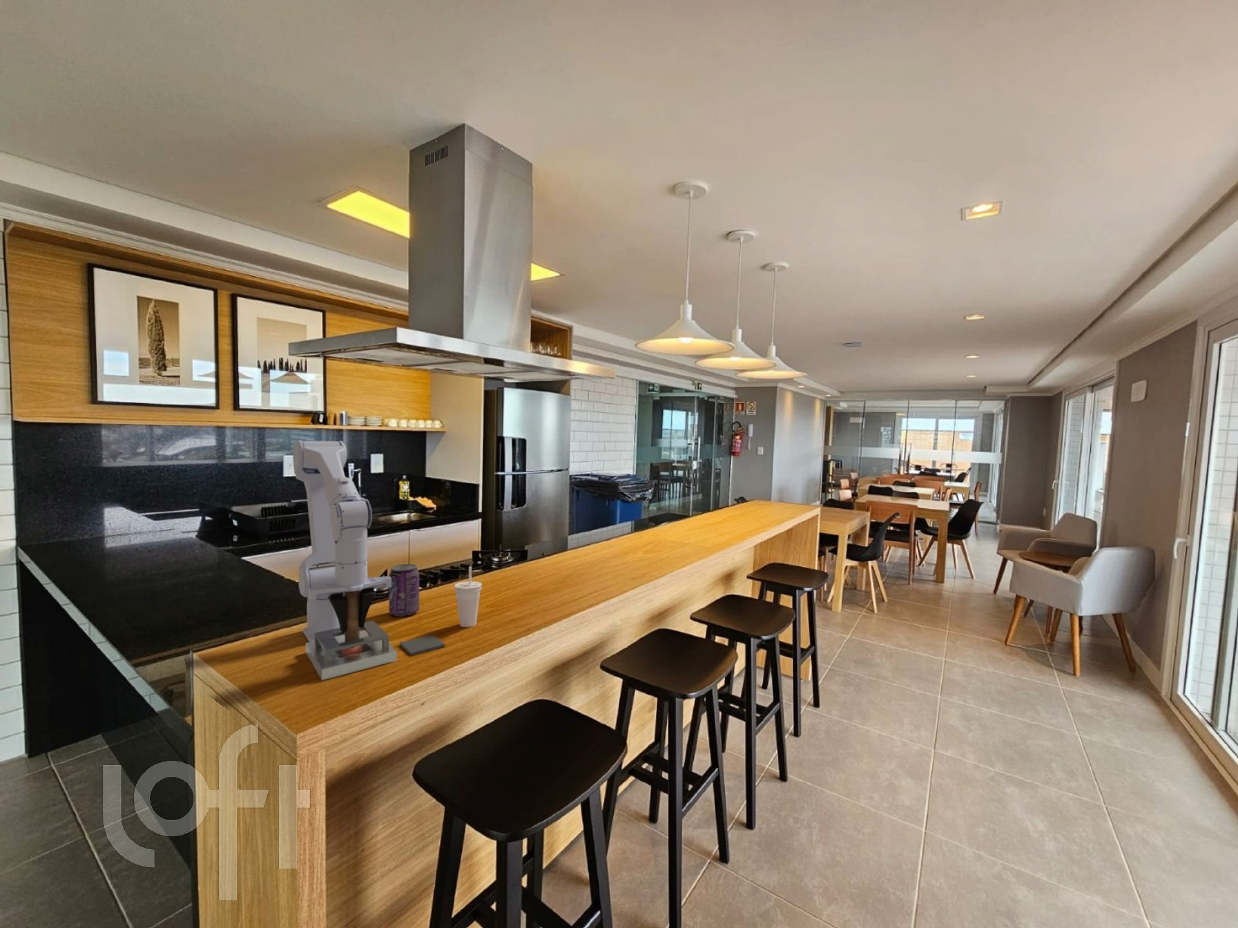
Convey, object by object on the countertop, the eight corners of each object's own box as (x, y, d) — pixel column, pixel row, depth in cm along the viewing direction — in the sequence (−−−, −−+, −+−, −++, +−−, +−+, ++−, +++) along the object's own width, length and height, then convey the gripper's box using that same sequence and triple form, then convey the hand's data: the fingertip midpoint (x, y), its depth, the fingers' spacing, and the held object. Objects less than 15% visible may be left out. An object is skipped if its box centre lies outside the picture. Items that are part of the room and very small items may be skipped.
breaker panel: (305, 652, 102) (305, 629, 102) (373, 637, 111) (373, 615, 111) (322, 680, 90) (321, 654, 90) (396, 660, 99) (396, 636, 99)
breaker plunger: (340, 657, 99) (340, 644, 99) (359, 652, 102) (359, 640, 102) (344, 663, 97) (344, 650, 97) (364, 658, 99) (364, 645, 99)
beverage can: (391, 610, 129) (390, 564, 129) (420, 607, 131) (420, 562, 131) (387, 619, 122) (386, 571, 122) (418, 616, 124) (417, 569, 124)
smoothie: (473, 630, 115) (473, 570, 115) (448, 628, 117) (448, 569, 116) (486, 620, 122) (486, 564, 121) (462, 618, 123) (462, 562, 122)
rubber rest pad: (400, 645, 106) (400, 642, 106) (432, 637, 111) (432, 634, 111) (411, 655, 101) (411, 652, 101) (445, 646, 106) (444, 644, 106)
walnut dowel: (343, 644, 100) (343, 590, 99) (358, 641, 101) (357, 588, 101) (345, 649, 97) (345, 593, 97) (360, 646, 99) (360, 591, 99)
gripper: (313, 570, 91) (314, 643, 91) (395, 559, 100) (396, 625, 101) (306, 563, 96) (306, 632, 97) (385, 553, 106) (385, 616, 106)
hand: (352, 628), depth 99 cm, fingers closed on walnut dowel, 3 cm apart
